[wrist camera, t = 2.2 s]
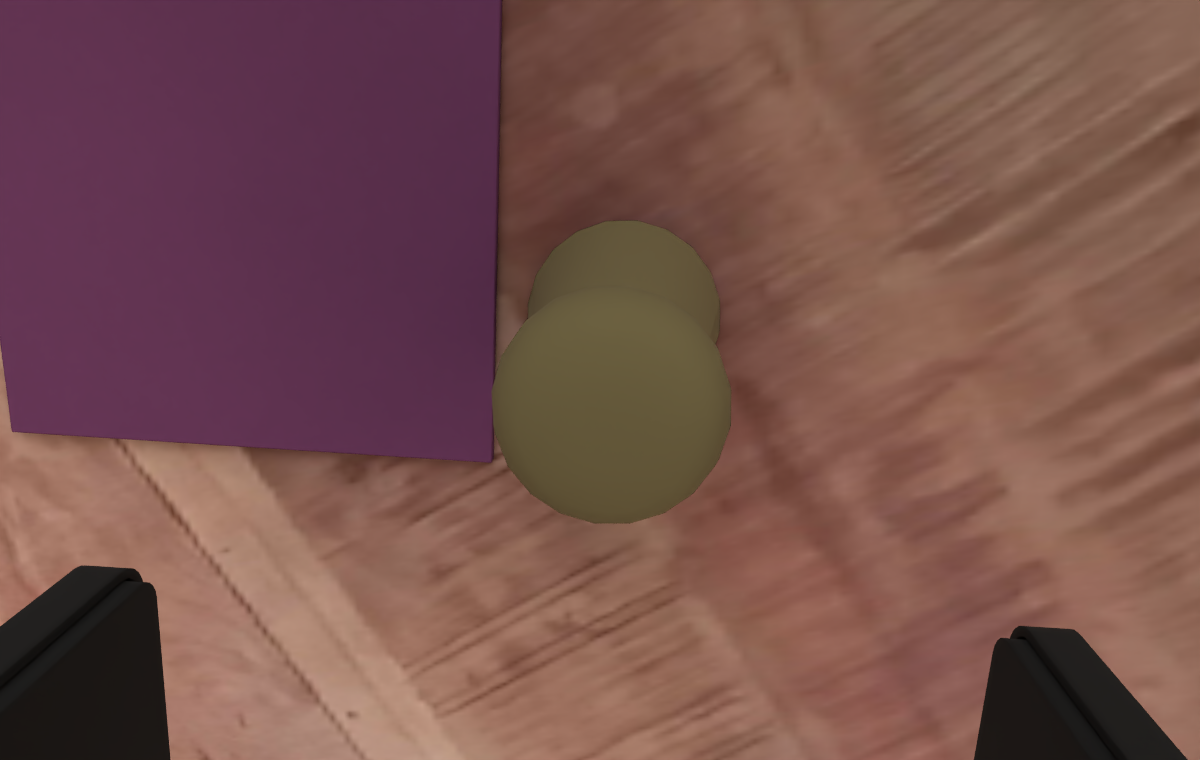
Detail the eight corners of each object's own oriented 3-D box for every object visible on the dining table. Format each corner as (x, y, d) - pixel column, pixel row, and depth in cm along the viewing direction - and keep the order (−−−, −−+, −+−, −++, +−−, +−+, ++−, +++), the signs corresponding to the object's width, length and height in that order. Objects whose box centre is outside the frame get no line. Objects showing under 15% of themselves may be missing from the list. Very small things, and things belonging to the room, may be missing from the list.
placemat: (-68, -256, 26) (-79, -262, 26) (506, -235, 25) (504, -240, 25) (19, 428, 32) (11, 432, 31) (493, 459, 31) (491, 463, 31)
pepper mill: (517, 395, 30) (445, 545, 20) (539, 206, 29) (472, 260, 18) (703, 422, 30) (731, 587, 20) (736, 234, 29) (786, 305, 18)
